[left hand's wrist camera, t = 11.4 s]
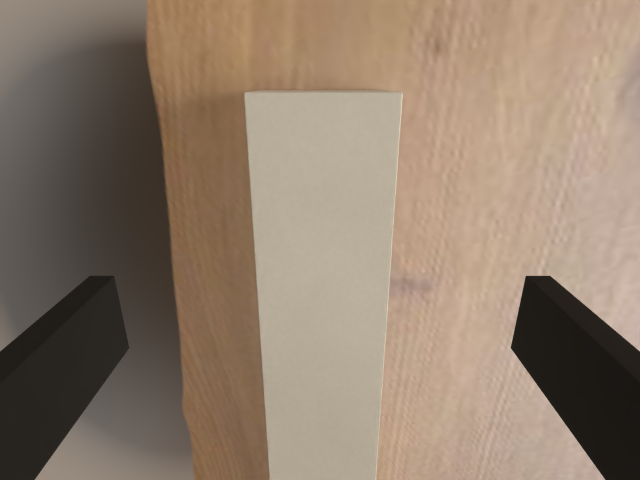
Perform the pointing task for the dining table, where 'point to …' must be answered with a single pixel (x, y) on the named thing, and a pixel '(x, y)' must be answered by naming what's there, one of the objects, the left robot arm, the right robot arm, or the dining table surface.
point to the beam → (322, 272)
